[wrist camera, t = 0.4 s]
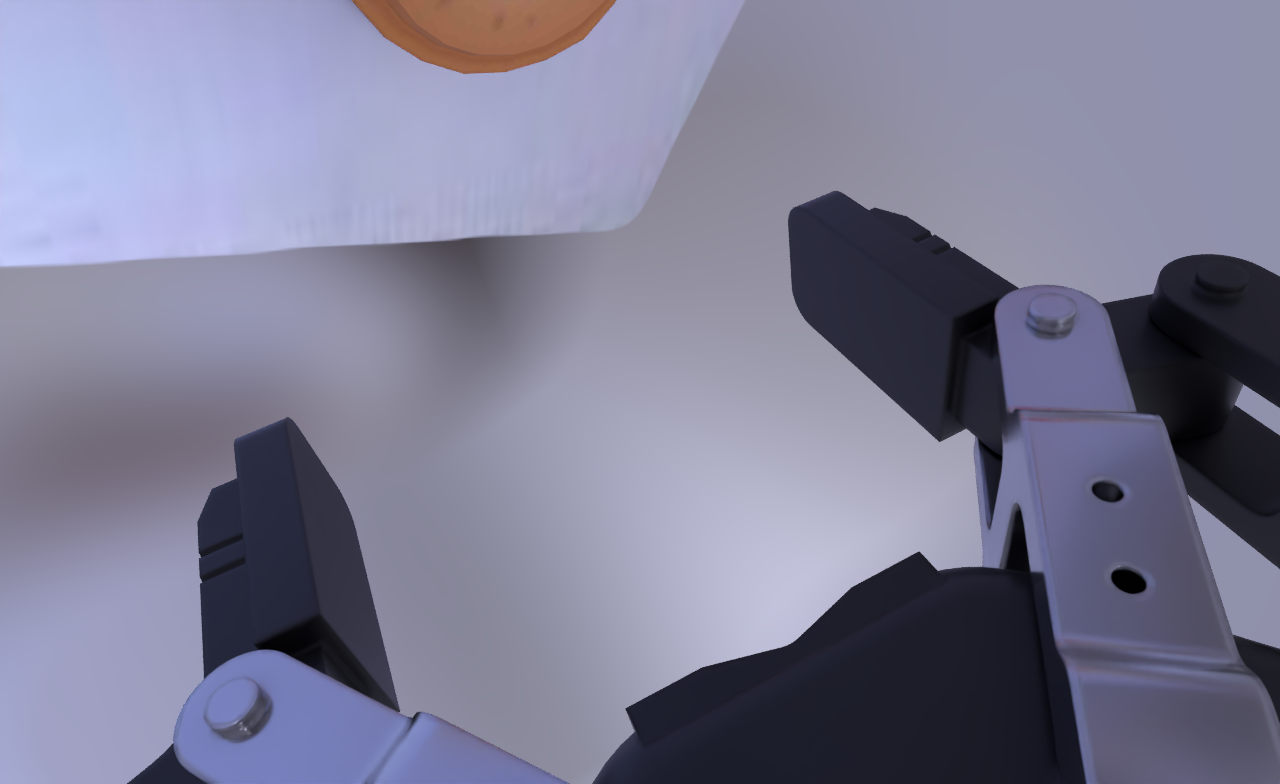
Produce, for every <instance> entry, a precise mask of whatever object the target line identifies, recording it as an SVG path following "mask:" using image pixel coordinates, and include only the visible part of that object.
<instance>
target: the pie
mask: <svg viewBox="0 0 1280 784" xmlns="http://www.w3.org/2000/svg"><path fill="white" fill-rule="evenodd" d="M352 1H353V2H354V4H355V5H356V6H357V7H358V8H359V9H360V10H361V11H362V13H363V14H364V15H365V16H366V17H367V18H368V19H369V21H370V22H371V23H372V24H373V25H374V26H375V27H376V28H377V30H378V31H379V32H380V33H381V34H382V35H383V36H384V37H385V38H386V39H388V40H390V41H391V42H393V43H394V44H396V45H398V46H399V47H401V48H402V49H404V50H406V51H407V52H409V53H410V54H412V55H414V56H415V57H417V58H418V59H420V60H422V61H424V62H427V63H431V64H434V65H437V66H441V67H444V68H447V69H450V70H454V71H457V72H460V73H463V74H469V73H494V72H507V71H510V70H514V69H517V68H520V67H524V66H527V65H530V64H534V63H537V62H541V61H544V60H547V59H548V58H550V57H552V56H554V55H556V54H558V53H559V52H561V51H563V50H565V49H567V48H569V47H570V46H572V45H574V44H576V43H578V42H579V41H581V40H583V39H584V38H585V37H586V36H587V35H588V34H589V32H590V31H591V30H592V29H593V28H594V27H595V25H596V24H597V23H598V22H599V21H600V20H601V18H602V17H603V16H604V15H605V14H606V13H607V11H608V10H609V9H610V8H611V7H612V6H613V4H614V3H615V1H616V0H352Z"/></svg>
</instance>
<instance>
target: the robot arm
mask: <svg viewBox="0 0 1280 784" xmlns="http://www.w3.org/2000/svg"><path fill="white" fill-rule="evenodd" d="M788 227H789V245H790V262H791V279H792V291H793V296H794V299H795V302H796V304H797V307H798V309H799V311H800V313H801V314H802V316H803V317H804V319H805V320H806V321H807V322H808V323H809V324H810V325H811V326H812V327H813V328H814V329H815V330H816V331H817V332H818V333H819V334H821V335H822V336H823V337H824V338H825V339H826V340H827V341H828V342H830V343H831V344H832V345H833V346H834V347H835V348H836V349H837V350H838V351H840V352H841V353H842V354H843V355H844V356H845V357H846V358H847V359H848V360H849V361H850V362H852V363H853V364H854V365H855V366H856V367H857V368H858V369H859V370H860V371H862V372H863V373H864V374H865V375H866V376H867V377H868V378H869V379H870V380H872V381H873V382H874V383H875V384H876V385H877V386H878V387H879V388H880V389H881V390H883V391H884V392H885V393H886V394H887V395H888V396H889V397H890V398H891V399H893V400H894V401H895V402H896V403H897V404H898V405H899V406H900V407H901V408H902V409H904V410H905V411H906V412H907V413H908V414H909V415H910V416H911V417H912V418H914V419H915V420H916V421H917V422H918V423H919V424H920V425H921V426H922V427H924V428H925V429H926V430H927V431H928V432H929V433H930V434H931V435H932V436H933V437H935V438H936V439H937V440H938V441H939V442H941V441H943V440H945V439H947V438H949V437H950V436H953V435H955V434H956V433H958V432H960V431H962V430H964V429H966V428H967V429H968V430H969V431H970V432H971V433H972V434H974V435H975V436H976V437H975V444H974V461H975V471H976V482H977V493H978V503H979V514H980V525H981V535H982V547H983V566H982V567H961V568H953V569H945V570H940V571H937V570H936V569H935V568H934V567H933V566H932V565H931V563H930V562H929V561H928V560H927V559H926V558H925V557H924V556H923V555H922V554H921V553H920V552H917V553H915V554H913V555H911V556H910V557H908V558H906V559H904V560H902V561H900V562H899V563H897V564H895V565H893V566H891V567H889V568H887V569H885V570H883V571H882V572H880V573H878V574H876V575H874V576H872V577H871V578H869V579H867V580H865V581H863V582H861V583H859V584H857V585H856V586H854V587H852V588H851V589H850V590H848V591H847V592H846V593H845V594H844V595H843V596H842V597H841V598H840V599H839V600H838V601H837V602H836V603H835V604H834V605H833V606H832V607H831V608H830V609H829V610H828V611H826V612H825V613H824V614H823V615H822V616H821V617H820V618H819V619H818V620H817V621H816V622H815V623H814V624H813V625H812V626H811V627H810V628H809V629H807V630H806V632H804V633H803V634H802V635H801V636H800V637H799V638H798V639H797V640H796V641H794V642H793V643H791V644H789V645H787V646H784V647H782V648H777V649H773V650H769V651H765V652H762V653H757V654H754V655H750V656H746V657H742V658H738V659H734V660H730V661H726V662H722V663H718V664H714V665H710V666H706V667H702V668H700V669H699V670H697V671H695V672H693V673H691V674H689V675H687V676H685V677H684V678H682V679H680V680H678V681H676V682H674V683H672V684H670V685H669V686H667V687H665V688H663V689H661V690H659V691H657V692H655V693H654V694H652V695H650V696H648V697H646V698H644V699H642V700H641V701H639V702H637V703H635V704H633V705H631V706H629V707H627V708H626V711H627V714H628V716H629V719H630V721H631V724H632V726H633V729H634V731H635V732H634V733H633V734H632V735H631V736H630V737H629V738H628V739H627V740H626V741H625V742H624V743H623V744H621V745H620V747H619V748H618V749H617V750H616V751H615V753H614V754H613V755H612V756H611V757H610V758H609V760H608V761H607V762H606V763H605V765H604V767H603V768H602V770H601V771H600V773H599V774H598V776H597V777H596V779H595V780H594V782H593V784H1280V649H1279V648H1275V647H1272V646H1269V645H1265V644H1262V643H1259V642H1255V641H1252V640H1249V639H1245V638H1242V637H1239V636H1236V635H1232V632H1231V628H1230V626H1229V622H1228V619H1227V616H1226V613H1225V610H1224V607H1223V603H1222V600H1221V597H1220V594H1219V591H1218V588H1217V585H1216V582H1215V579H1214V575H1213V572H1212V569H1211V566H1210V563H1209V560H1208V557H1207V554H1206V551H1205V547H1204V544H1203V541H1202V538H1201V535H1200V532H1199V529H1198V526H1197V523H1196V519H1195V516H1194V513H1193V510H1192V507H1191V504H1190V501H1189V498H1188V495H1189V496H1190V497H1191V498H1193V499H1194V500H1195V501H1196V502H1198V503H1199V504H1200V505H1201V506H1202V507H1204V508H1205V509H1206V510H1207V511H1209V512H1210V513H1211V514H1212V515H1214V516H1215V517H1216V518H1217V519H1219V520H1220V521H1221V522H1222V523H1223V524H1225V525H1226V526H1227V527H1229V528H1230V529H1231V530H1232V531H1233V532H1235V533H1236V534H1237V535H1238V536H1240V537H1241V538H1242V539H1243V540H1244V541H1246V542H1247V543H1248V544H1249V545H1251V546H1252V547H1253V548H1255V549H1256V550H1257V551H1258V552H1259V553H1261V554H1262V555H1263V556H1264V557H1266V558H1267V559H1268V560H1269V561H1271V562H1272V563H1273V564H1274V565H1276V566H1277V567H1278V568H1279V569H1280V436H1279V435H1278V434H1277V433H1275V432H1274V431H1272V430H1271V429H1269V428H1268V427H1266V426H1265V425H1263V424H1262V423H1260V422H1259V421H1257V420H1256V419H1254V418H1253V417H1252V416H1250V415H1249V414H1247V413H1246V412H1244V411H1243V410H1241V409H1240V408H1238V407H1237V406H1235V405H1234V404H1235V402H1236V400H1237V398H1238V395H1239V393H1240V391H1241V389H1242V386H1243V384H1244V385H1245V386H1247V387H1249V388H1250V389H1252V390H1253V391H1255V392H1256V393H1258V394H1259V395H1261V396H1262V397H1264V398H1265V399H1267V400H1268V401H1270V402H1271V403H1273V404H1275V405H1276V406H1278V407H1279V408H1280V276H1278V275H1276V274H1274V273H1272V272H1270V271H1268V270H1266V269H1265V268H1262V267H1261V266H1259V265H1256V264H1254V263H1252V262H1249V261H1246V260H1243V259H1239V258H1235V257H1231V256H1224V255H1214V254H1204V255H1203V254H1201V255H1191V256H1186V257H1182V258H1179V259H1177V260H1174V261H1172V262H1170V263H1168V264H1167V265H1166V266H1165V267H1164V268H1163V269H1162V270H1161V272H1160V274H1159V277H1158V280H1157V284H1156V287H1155V290H1154V293H1153V294H1151V295H1146V296H1140V297H1135V298H1129V299H1124V300H1119V301H1113V302H1108V303H1103V304H1101V303H1099V302H1098V301H1097V300H1096V299H1094V298H1093V297H1091V296H1090V295H1088V294H1085V293H1083V292H1081V291H1078V290H1075V289H1072V288H1068V287H1064V286H1055V285H1034V286H1028V287H1024V288H1020V289H1019V288H1018V287H1016V286H1015V285H1013V284H1011V283H1010V282H1008V281H1007V280H1005V279H1003V278H1002V277H1000V276H999V275H997V274H996V273H994V272H993V271H991V270H990V269H988V268H986V267H985V266H983V265H982V264H980V263H979V262H977V261H975V260H974V259H972V258H971V257H969V256H968V255H966V254H965V253H963V252H961V251H960V250H958V249H956V248H955V247H954V248H951V247H950V244H949V243H947V242H945V241H944V240H943V239H941V238H939V237H938V236H936V235H933V236H932V235H931V233H930V231H929V230H927V229H925V228H924V227H922V226H921V225H919V224H918V223H916V222H915V221H913V220H911V219H910V218H908V217H907V216H903V215H899V214H896V213H892V212H889V211H885V210H881V209H878V208H873V209H871V210H867V209H866V208H864V207H863V206H861V205H860V204H858V203H857V202H855V201H854V200H852V199H851V198H849V197H848V196H846V195H845V194H843V193H841V192H839V191H833V192H831V193H828V194H826V195H823V196H821V197H819V198H816V199H814V200H811V201H809V202H806V203H804V204H802V205H799V206H797V207H795V208H793V209H792V210H791V211H790V214H789V218H788ZM234 451H235V461H236V471H237V479H234V480H232V481H230V482H228V483H225V484H223V485H220V486H218V487H216V488H213V489H212V490H211V492H210V495H209V497H208V499H207V502H206V504H205V506H204V508H203V511H202V513H201V515H200V518H199V520H198V546H199V554H200V555H201V558H199V570H200V578H201V580H202V583H201V584H200V593H201V616H202V640H203V663H204V680H203V681H202V682H201V683H200V684H199V685H198V686H197V687H196V688H195V690H194V691H193V692H192V693H191V695H190V696H189V698H188V699H187V701H186V703H185V704H184V706H183V708H182V710H181V712H180V714H179V716H178V719H177V722H176V725H175V730H174V737H173V742H174V743H173V744H172V745H171V746H170V747H169V748H168V749H167V750H166V751H165V753H164V754H162V755H161V756H160V757H159V758H158V759H157V760H156V761H155V762H154V763H152V764H151V765H150V766H148V767H147V768H146V769H145V770H144V771H142V772H141V773H140V774H139V775H137V776H136V777H135V778H134V779H132V780H131V781H130V782H129V783H127V784H570V783H568V782H565V781H563V780H561V779H560V778H558V777H555V776H554V775H552V774H550V773H548V772H546V771H544V770H542V769H540V768H538V767H536V766H534V765H532V764H530V763H528V762H526V761H524V760H522V759H520V758H518V757H516V756H514V755H512V754H510V753H508V752H506V751H504V750H502V749H500V748H498V747H496V746H495V745H493V744H491V743H489V742H486V741H484V740H483V739H481V738H479V737H477V736H475V735H473V734H471V733H469V732H467V731H465V730H463V729H461V728H459V727H457V726H455V725H453V724H451V723H449V722H447V721H445V720H443V719H441V718H439V717H437V716H434V715H432V714H429V713H425V712H417V713H416V714H415V715H414V717H413V718H411V717H407V716H405V715H402V714H400V713H399V712H400V709H399V705H398V701H397V697H396V693H395V689H394V685H393V681H392V677H391V672H390V668H389V664H388V660H387V656H386V652H385V648H384V644H383V639H382V636H381V631H380V627H379V623H378V619H377V615H376V611H375V607H374V603H373V598H372V594H371V590H370V586H369V582H368V578H367V574H366V569H365V566H364V562H363V557H362V553H361V549H360V545H359V541H358V537H357V532H356V528H355V525H354V522H353V519H352V516H351V513H350V511H349V508H348V506H347V504H346V502H345V500H344V498H343V496H342V494H341V492H340V490H339V489H338V487H337V486H336V484H335V482H334V481H333V479H332V478H331V477H330V475H329V473H328V472H327V470H326V469H325V467H324V466H323V464H322V463H321V461H320V460H319V458H318V457H317V455H316V454H315V452H314V451H313V449H312V448H311V446H310V444H309V443H308V442H307V440H306V438H305V437H304V435H303V434H302V433H301V431H300V429H299V428H298V426H297V425H296V424H295V423H294V421H293V420H292V419H290V418H289V417H287V418H285V419H283V420H280V421H278V422H275V423H273V424H270V425H268V426H266V427H263V428H261V429H258V430H256V431H254V432H251V433H249V434H246V435H244V436H242V437H239V438H237V439H235V442H234Z"/></svg>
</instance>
